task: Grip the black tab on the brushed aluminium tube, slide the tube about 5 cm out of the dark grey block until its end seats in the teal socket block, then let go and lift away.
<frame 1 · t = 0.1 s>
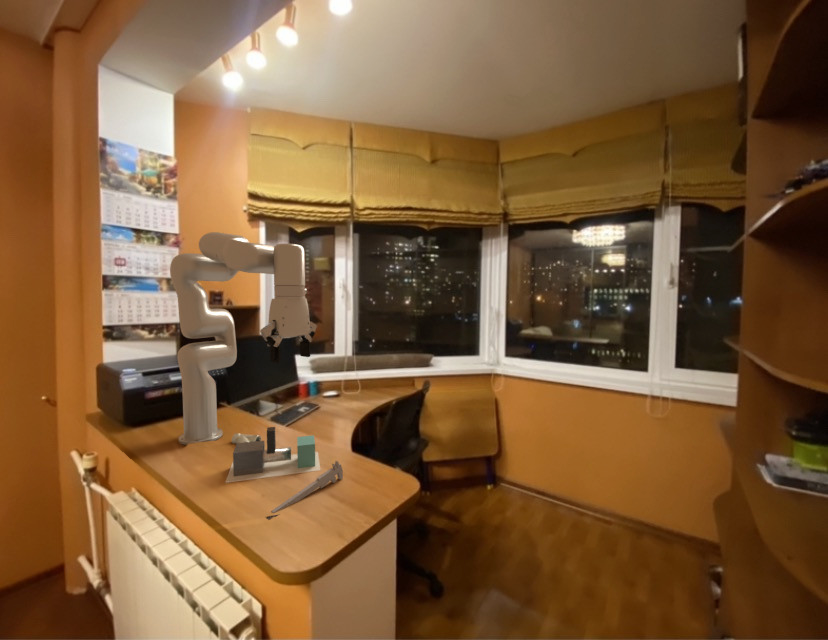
hand: (291, 359, 96), 31 cm above the table, tool pointing down, fingers open, 9 cm apart
socket block: (306, 462, 104), resting on base board
caliper: (307, 500, 87), on the table
dark grey block: (249, 469, 99), resting on base board
pipe fitting: (243, 448, 115), on the table
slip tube: (263, 446, 100), point 7 cm above the table, slide at 0.0 cm
base board: (275, 469, 101), on the table
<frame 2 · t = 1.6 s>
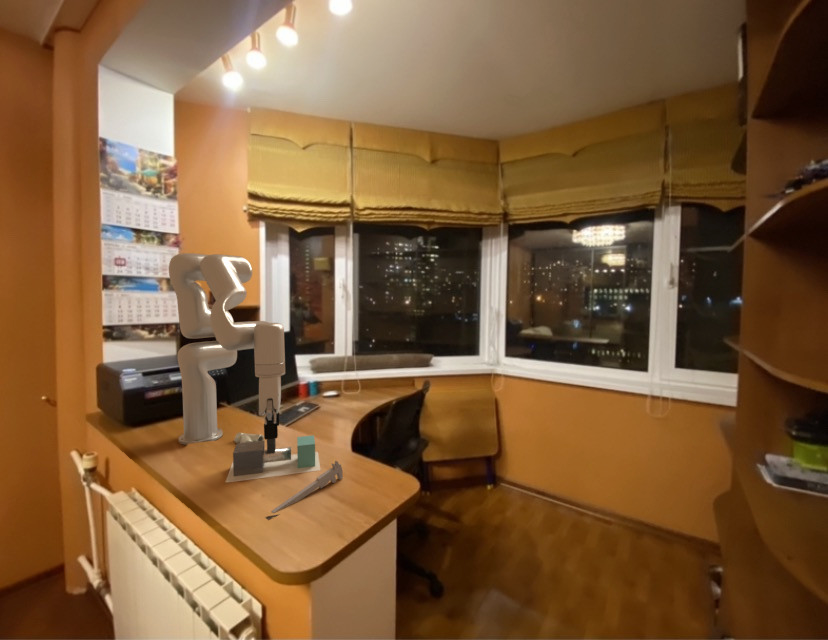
hand: (272, 432, 100), 11 cm above the table, tool pointing down, fingers open, 9 cm apart
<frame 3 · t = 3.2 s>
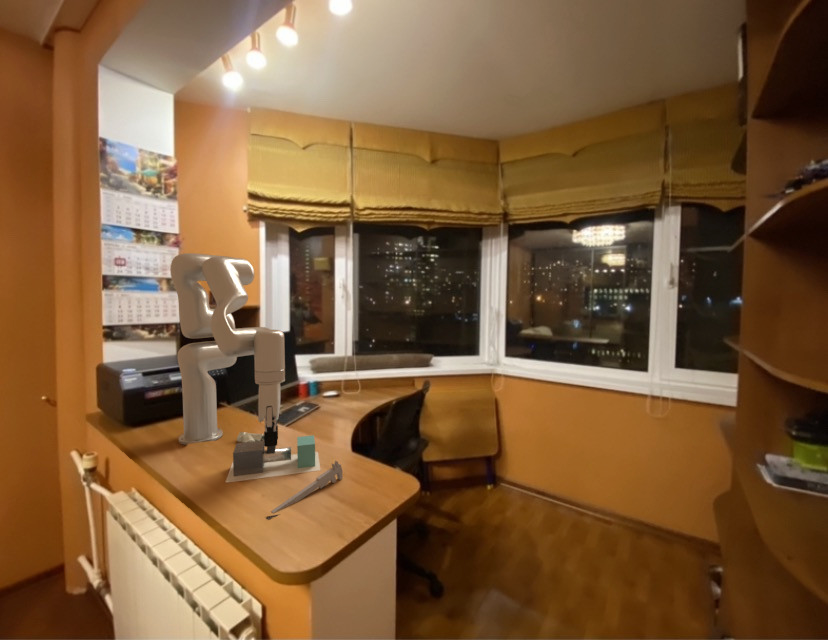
hand: (271, 442, 101), 8 cm above the table, tool pointing down, fingers closed on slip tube, 3 cm apart
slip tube: (263, 446, 100), point 7 cm above the table, slide at 0.0 cm, touching gripper
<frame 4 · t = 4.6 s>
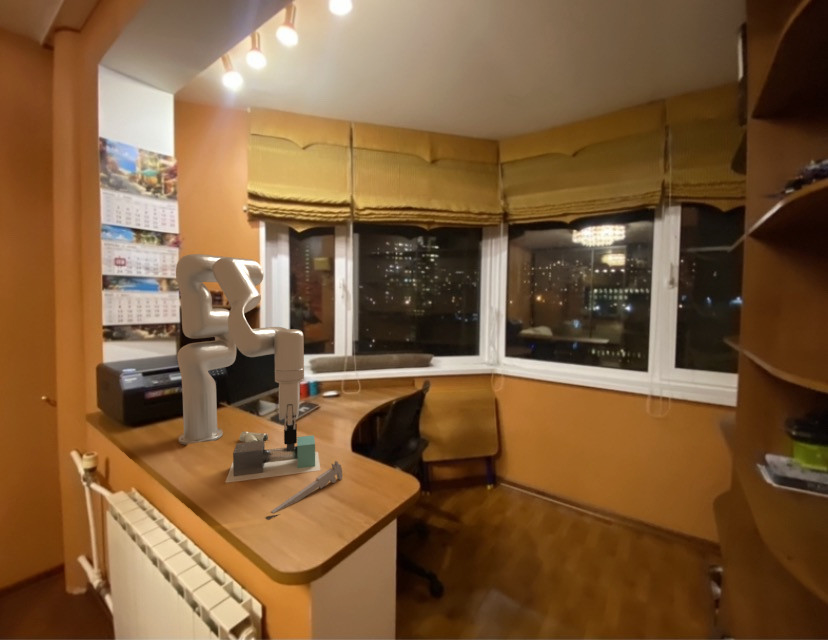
hand: (290, 440, 102), 8 cm above the table, tool pointing down, fingers closed on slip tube, 3 cm apart
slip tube: (282, 444, 102), point 7 cm above the table, slide at 5.0 cm, touching gripper
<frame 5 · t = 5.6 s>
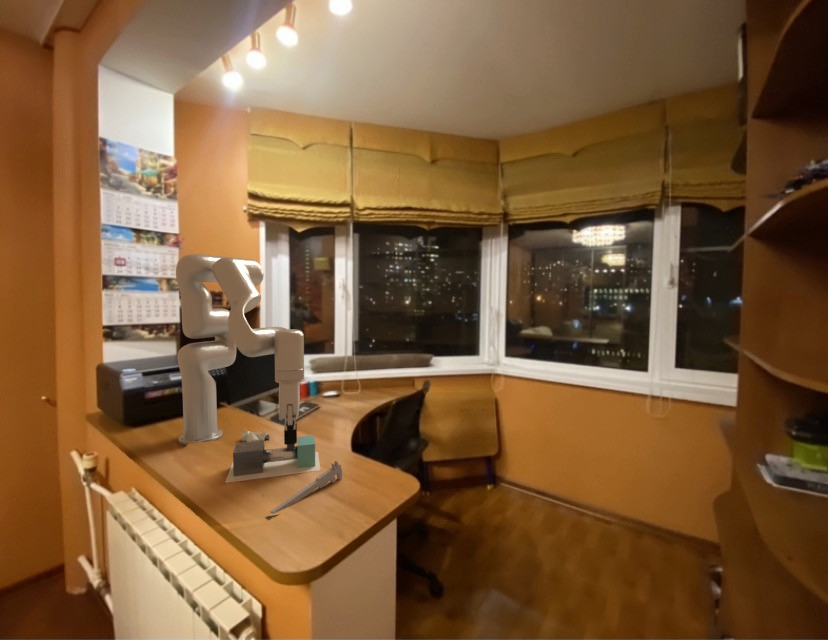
hand: (290, 440, 102), 8 cm above the table, tool pointing down, fingers open, 3 cm apart
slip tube: (283, 444, 102), point 7 cm above the table, slide at 5.0 cm
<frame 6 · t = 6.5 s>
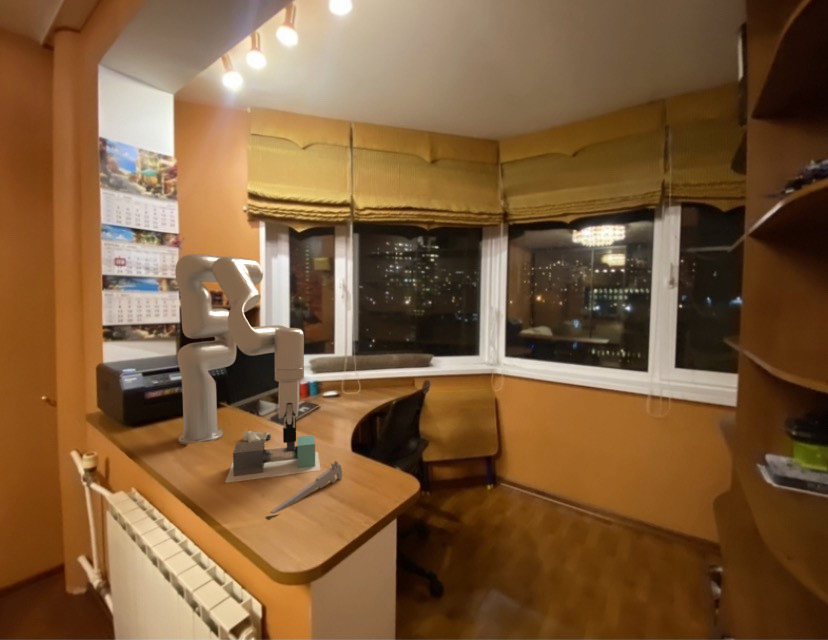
hand: (290, 434, 102), 9 cm above the table, tool pointing down, fingers open, 9 cm apart
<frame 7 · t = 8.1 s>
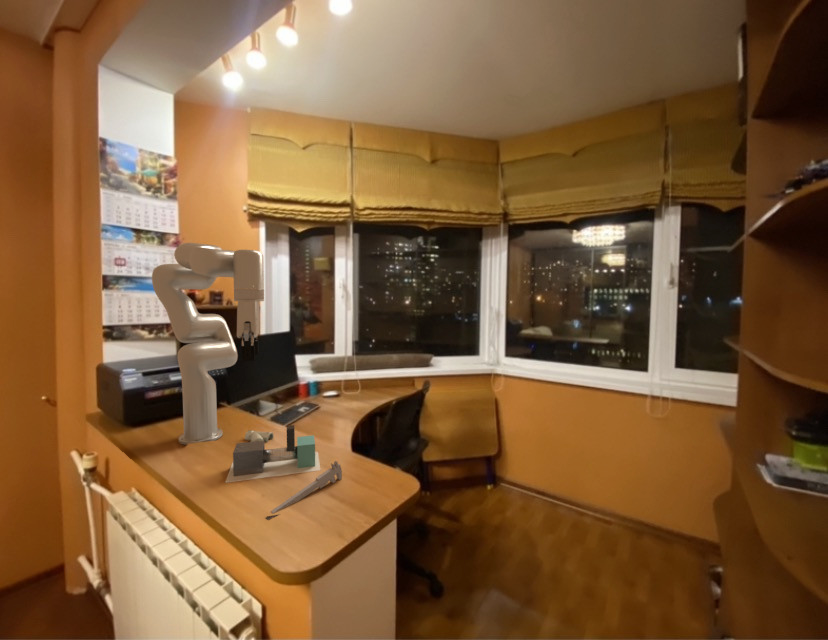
hand: (250, 357, 103), 30 cm above the table, tool pointing down, fingers open, 9 cm apart
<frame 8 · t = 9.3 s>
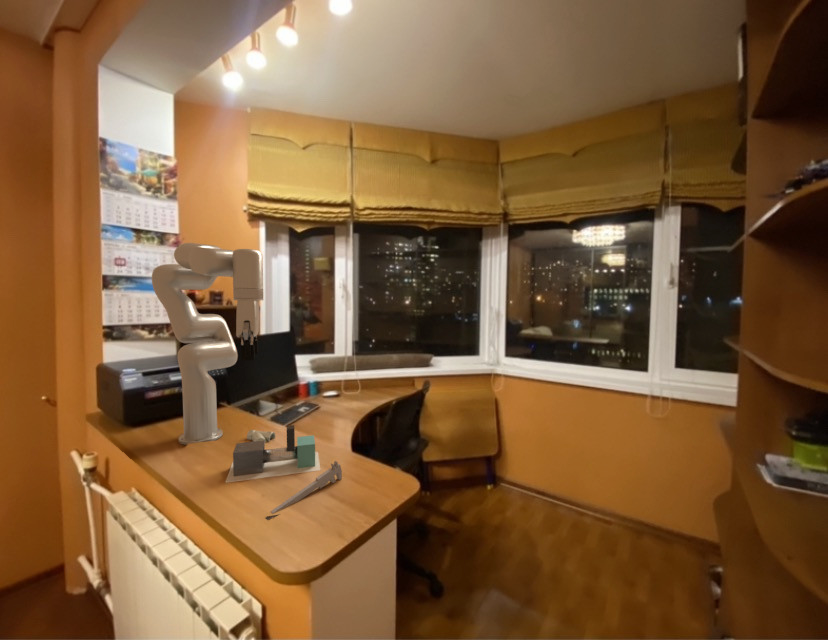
hand: (250, 356, 103), 30 cm above the table, tool pointing down, fingers open, 9 cm apart
at the end: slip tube slide at 5.0 cm; the gripper is holding nothing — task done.
